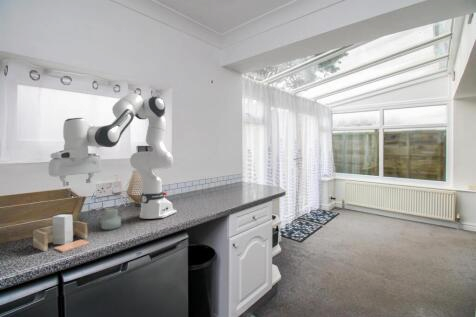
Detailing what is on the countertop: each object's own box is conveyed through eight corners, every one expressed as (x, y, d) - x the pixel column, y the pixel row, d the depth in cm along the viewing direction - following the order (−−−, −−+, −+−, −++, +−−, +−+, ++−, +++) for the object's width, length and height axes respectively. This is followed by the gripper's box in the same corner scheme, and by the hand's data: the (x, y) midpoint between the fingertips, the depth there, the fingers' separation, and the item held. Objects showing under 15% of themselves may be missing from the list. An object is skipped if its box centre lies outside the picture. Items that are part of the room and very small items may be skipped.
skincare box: (73, 241, 100) (73, 214, 100) (64, 245, 96) (64, 217, 96) (61, 240, 101) (61, 214, 101) (52, 244, 97) (51, 216, 97)
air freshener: (103, 226, 121) (103, 208, 121) (121, 224, 124) (121, 206, 124) (100, 233, 111) (100, 212, 111) (119, 230, 114) (119, 211, 114)
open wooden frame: (75, 234, 108) (75, 220, 108) (87, 238, 103) (87, 223, 103) (33, 246, 94) (33, 230, 94) (44, 251, 89) (44, 234, 89)
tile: (80, 240, 100) (80, 239, 100) (89, 243, 97) (89, 242, 97) (54, 249, 92) (54, 247, 92) (63, 252, 88) (63, 250, 88)
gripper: (95, 153, 112) (96, 180, 112) (45, 154, 93) (47, 187, 94) (103, 153, 109) (104, 181, 109) (53, 154, 91) (55, 188, 91)
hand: (77, 184), depth 102 cm, fingers open, 8 cm apart
